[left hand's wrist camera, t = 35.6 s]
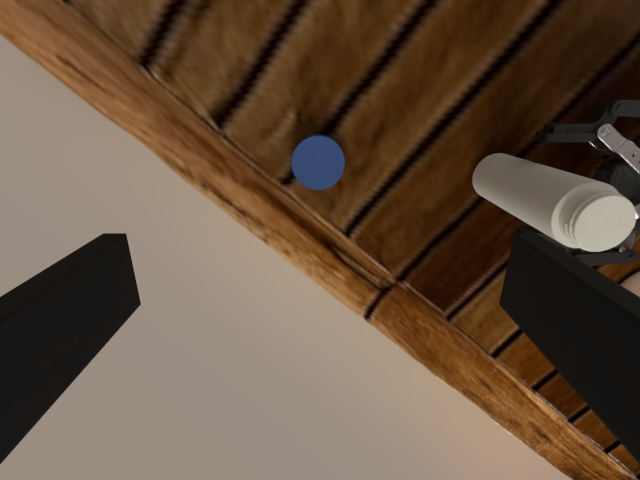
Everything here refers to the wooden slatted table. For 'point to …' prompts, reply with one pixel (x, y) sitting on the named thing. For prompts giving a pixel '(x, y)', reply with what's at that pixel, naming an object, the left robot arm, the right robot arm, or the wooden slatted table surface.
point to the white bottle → (556, 202)
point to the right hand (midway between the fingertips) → (529, 187)
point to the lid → (318, 161)
